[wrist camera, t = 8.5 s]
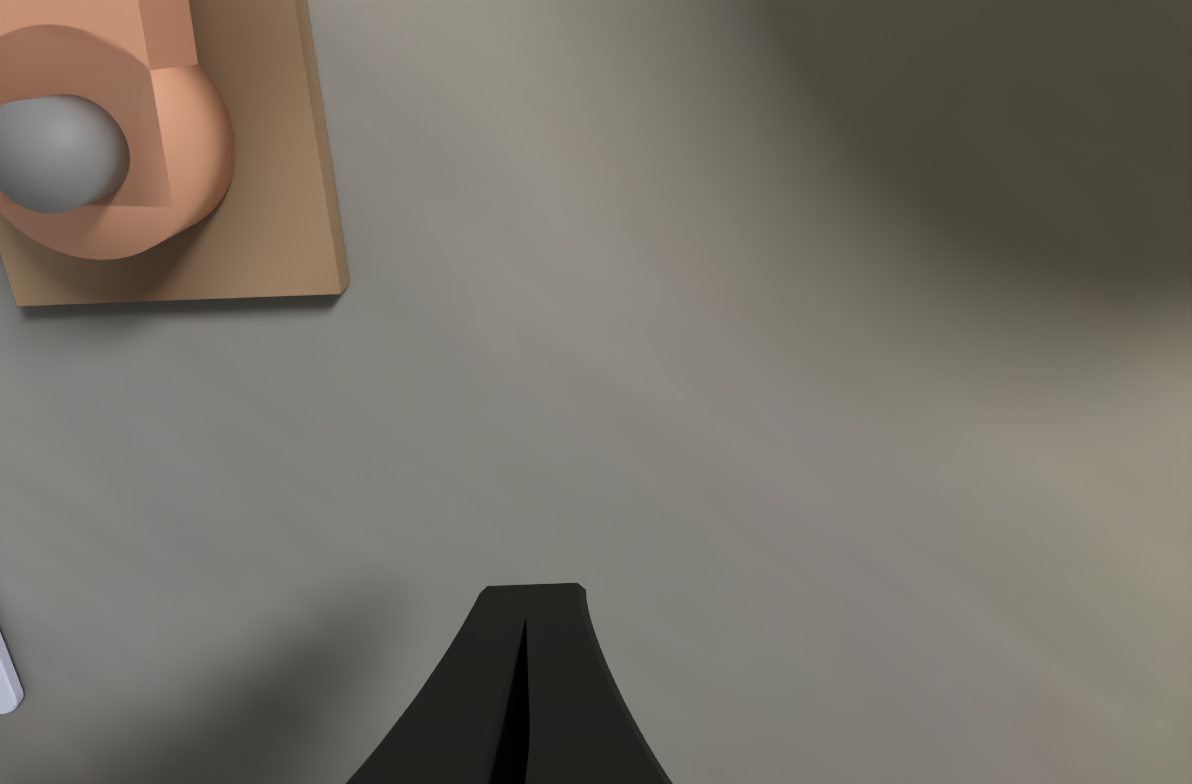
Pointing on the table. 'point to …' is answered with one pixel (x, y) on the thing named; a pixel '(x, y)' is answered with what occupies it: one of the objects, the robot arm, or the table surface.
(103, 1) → the link
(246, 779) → the table surface
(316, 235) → the pintle plate
